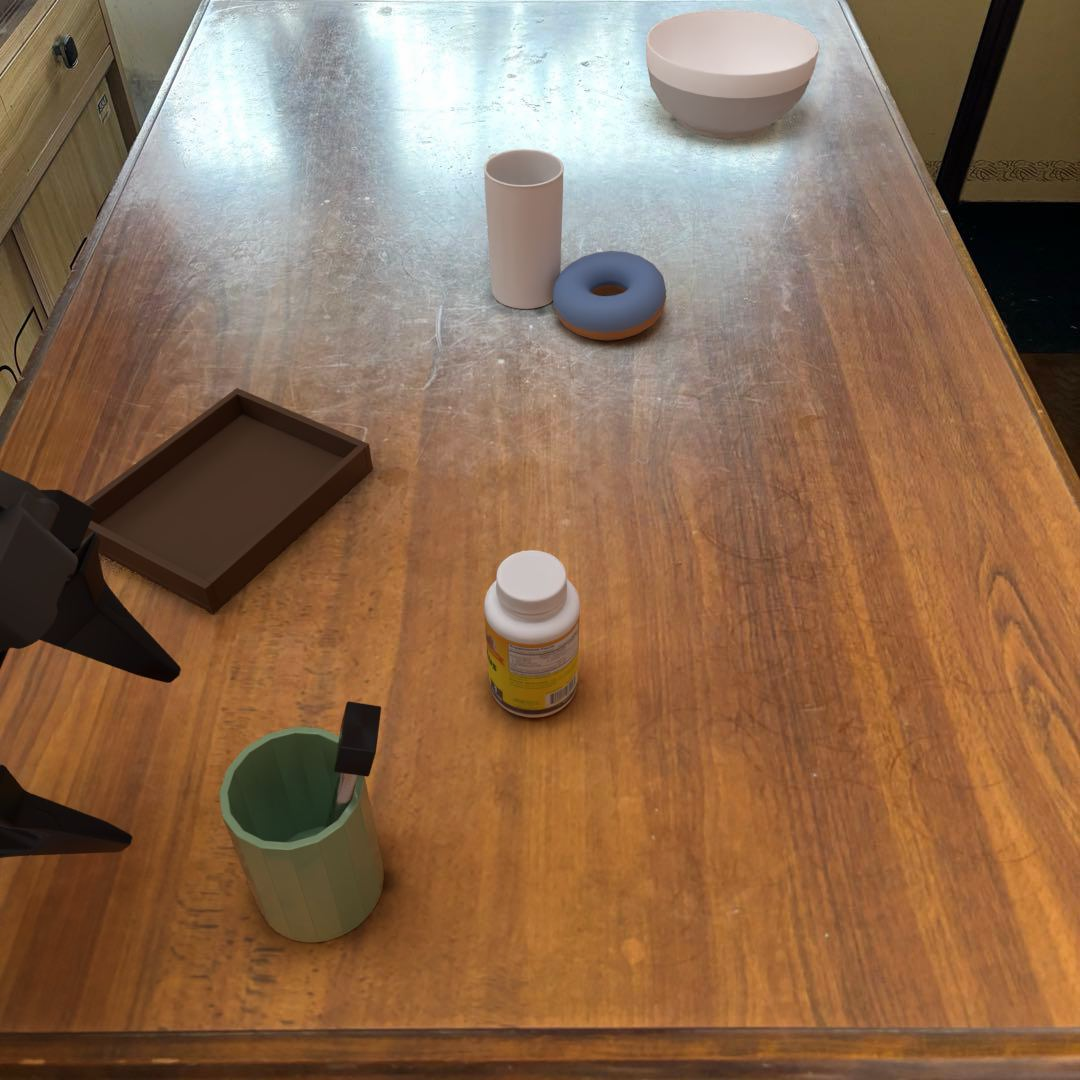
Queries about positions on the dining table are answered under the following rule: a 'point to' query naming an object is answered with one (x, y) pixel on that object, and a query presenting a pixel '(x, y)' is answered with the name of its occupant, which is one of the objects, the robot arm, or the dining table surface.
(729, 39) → the bowl
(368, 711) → the black component with leads
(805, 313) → the dining table surface
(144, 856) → the dining table surface
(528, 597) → the supplement bottle
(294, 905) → the cup
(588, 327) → the doughnut
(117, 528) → the tray
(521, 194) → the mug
